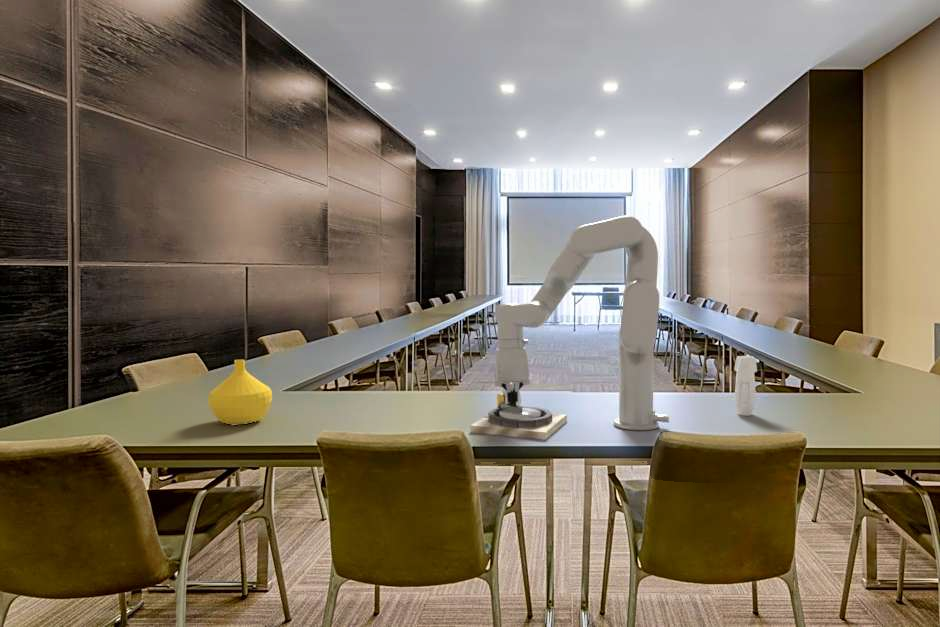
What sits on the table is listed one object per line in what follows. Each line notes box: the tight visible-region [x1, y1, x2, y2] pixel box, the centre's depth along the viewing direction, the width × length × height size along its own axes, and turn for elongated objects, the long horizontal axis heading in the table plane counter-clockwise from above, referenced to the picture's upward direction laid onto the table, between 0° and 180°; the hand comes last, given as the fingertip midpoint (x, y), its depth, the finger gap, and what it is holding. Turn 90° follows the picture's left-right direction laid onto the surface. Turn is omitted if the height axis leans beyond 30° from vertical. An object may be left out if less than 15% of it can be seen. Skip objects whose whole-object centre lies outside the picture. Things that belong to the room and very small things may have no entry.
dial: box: [496, 392, 541, 419], centre depth 184 cm, size 16×12×6 cm
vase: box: [208, 359, 273, 425], centre depth 193 cm, size 18×18×19 cm
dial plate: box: [469, 405, 568, 441], centre depth 183 cm, size 22×22×4 cm
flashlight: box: [733, 355, 758, 417], centre depth 194 cm, size 7×18×7 cm
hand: (512, 404), depth 190 cm, fingers closed
